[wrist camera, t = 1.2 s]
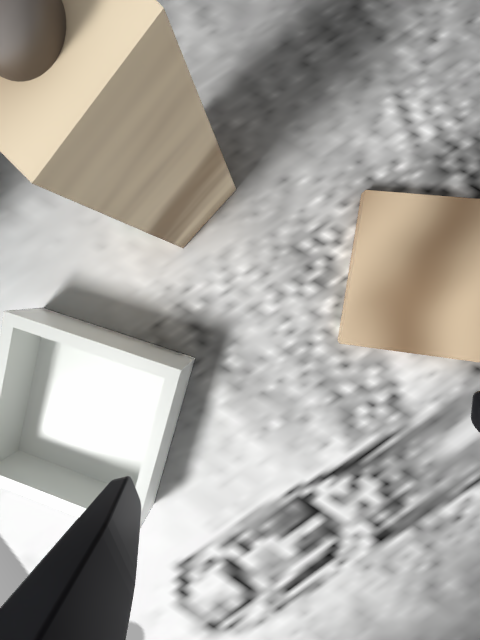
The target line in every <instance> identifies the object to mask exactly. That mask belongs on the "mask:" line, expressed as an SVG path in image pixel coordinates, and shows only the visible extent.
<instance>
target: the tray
mask: <svg viewBox="0 0 480 640" xmlns="http://www.w3.org/2000/svg"><path fill="white" fill-rule="evenodd" d="M194 360H195V358H194V357H191V356H188V355H185V354H182V353H179V352H176V351H173V350H170V349H167V348H164V347H161V346H158V345H155V344H152V343H149V342H145V341H142V340H139V339H136V338H133V337H130V336H127V335H124V334H121V333H118V332H115V331H112V330H109V329H106V328H103V327H100V326H97V325H94V324H91V323H88V322H85V321H82V320H79V319H76V318H73V317H70V316H67V315H64V314H60V313H57V312H54V311H51V310H48V309H45V308H33V309H21V310H10V311H4V313H3V319H2V325H1V330H0V487H2V488H5V489H7V490H10V491H13V492H15V493H18V494H20V495H23V496H25V497H28V498H30V499H33V500H36V501H38V502H41V503H43V504H46V505H48V506H51V507H53V508H56V509H59V510H61V511H64V512H66V513H69V514H71V515H74V516H76V517H80V516H81V515H82V513H83V512H84V511H85V510H86V509H87V508H88V506H89V505H90V504H91V503H92V502H93V501H94V500H95V498H96V497H97V496H98V495H99V494H100V493H101V492H102V490H103V489H104V488H105V487H106V486H107V485H108V483H109V482H110V481H111V480H113V479H116V478H120V477H124V476H130V477H131V478H132V480H133V483H134V485H135V488H136V490H137V493H138V495H139V498H140V501H141V520H140V528H141V526H142V524H143V523H144V521H145V519H146V517H147V515H148V514H149V512H150V510H151V508H152V506H153V505H154V502H155V498H156V495H157V491H158V487H159V484H160V480H161V477H162V473H163V470H164V466H165V463H166V459H167V456H168V452H169V449H170V445H171V442H172V438H173V435H174V431H175V427H176V424H177V420H178V417H179V413H180V410H181V406H182V403H183V399H184V396H185V392H186V389H187V385H188V382H189V378H190V375H191V371H192V368H193V364H194Z"/></svg>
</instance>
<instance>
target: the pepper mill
mask: <svg viewBox="0 0 480 640" xmlns="http://www.w3.org/2000/svg"><path fill="white" fill-rule="evenodd" d="M0 152H1V153H2V154H3V155H4V156H5V157H6V158H7V159H8V160H9V161H10V162H11V163H12V164H13V165H14V166H15V167H16V168H17V169H18V170H19V171H20V172H21V173H22V174H23V175H24V176H25V177H26V178H27V179H28V180H29V181H30V182H31V183H32V184H35V185H37V186H39V187H42V188H44V189H46V190H49V191H51V192H53V193H56V194H58V195H60V196H63V197H65V198H67V199H70V200H72V201H74V202H77V203H79V204H81V205H84V206H86V207H88V208H91V209H93V210H95V211H98V212H100V213H102V214H105V215H107V216H109V217H112V218H114V219H116V220H119V221H121V222H123V223H126V224H128V225H130V226H133V227H135V228H137V229H140V230H142V231H144V232H147V233H149V234H151V235H154V236H156V237H158V238H161V239H163V240H165V241H168V242H170V243H172V244H175V245H177V246H179V247H182V248H184V247H185V246H186V245H187V243H188V242H189V241H190V240H191V239H192V238H193V237H194V236H195V235H196V233H197V232H198V231H199V230H200V229H201V228H202V227H203V226H204V225H205V224H206V222H207V221H208V220H209V219H210V218H211V217H212V216H213V215H214V214H215V212H216V211H217V210H218V209H219V208H220V207H221V206H222V205H223V204H224V203H225V201H226V200H227V199H228V198H229V197H230V196H231V195H232V194H233V193H234V191H235V190H236V188H235V185H234V183H233V180H232V178H231V175H230V173H229V170H228V168H227V165H226V163H225V160H224V158H223V155H222V153H221V150H220V148H219V145H218V143H217V140H216V138H215V135H214V133H213V130H212V128H211V125H210V123H209V120H208V118H207V115H206V113H205V110H204V108H203V105H202V103H201V100H200V98H199V95H198V93H197V90H196V88H195V85H194V83H193V80H192V78H191V75H190V73H189V70H188V68H187V65H186V63H185V60H184V58H183V55H182V53H181V50H180V48H179V45H178V43H177V40H176V37H175V35H174V32H173V30H172V27H171V25H170V22H169V20H168V17H167V15H166V12H165V10H164V8H163V7H162V6H161V5H160V4H159V3H158V2H157V1H156V0H0Z"/></svg>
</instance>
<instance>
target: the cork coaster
mask: <svg viewBox="0 0 480 640" xmlns="http://www.w3.org/2000/svg"><path fill="white" fill-rule="evenodd" d="M338 342H339V343H340V344H348V345H355V346H362V347H370V348H377V349H385V350H392V351H400V352H407V353H414V354H422V355H429V356H437V357H444V358H452V359H459V360H466V361H474V362H480V199H474V198H461V197H449V196H436V195H423V194H411V193H398V192H386V191H373V190H365V191H364V192H363V193H362V194H361V199H360V205H359V212H358V218H357V224H356V230H355V237H354V243H353V249H352V255H351V261H350V268H349V274H348V280H347V286H346V292H345V299H344V305H343V311H342V317H341V323H340V330H339V336H338Z"/></svg>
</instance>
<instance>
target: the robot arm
mask: <svg viewBox="0 0 480 640" xmlns="http://www.w3.org/2000/svg"><path fill="white" fill-rule="evenodd" d="M471 420H472V423H473V425H474V426H475V428H476V429H477V430H478V431H479V432H480V391H477V392H475V393H474V395H473V400H472V411H471ZM140 520H141V501H140V498H139V495H138V493H137V490H136V488H135V485H134V483H133V480H132V478H131V477H130V476H124V477H120V478H116V479H113V480H111V481H110V482H109V483H108V485H107V486H106V487H105V488H104V489H103V490H102V492H101V493H100V494H99V495H98V496H97V497H96V498H95V500H94V501H93V502H92V503H91V504H90V505H89V506H88V508H87V509H86V510H85V511H84V512H83V513H82V515H81V516H80V517H79V518H78V519H77V520H76V521H75V523H74V524H73V525H72V526H71V527H70V528H69V529H68V531H67V532H66V533H65V534H64V535H63V536H62V537H61V539H60V540H59V541H58V542H57V543H56V544H55V546H54V547H53V548H52V549H51V550H50V551H49V552H48V554H47V555H46V556H45V557H44V558H43V559H42V560H41V562H40V563H39V564H38V565H37V566H36V567H35V569H34V570H33V571H32V572H31V573H30V574H29V575H28V577H27V578H26V579H25V580H24V581H23V582H22V584H21V585H20V586H19V587H18V588H17V589H16V590H15V592H14V593H13V594H12V595H11V596H10V597H9V598H8V600H7V601H6V602H5V603H4V604H3V605H2V606H1V608H0V640H126V634H127V629H128V623H129V617H130V612H131V606H132V600H133V594H134V587H135V579H136V568H137V556H138V544H139V532H140Z"/></svg>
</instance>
